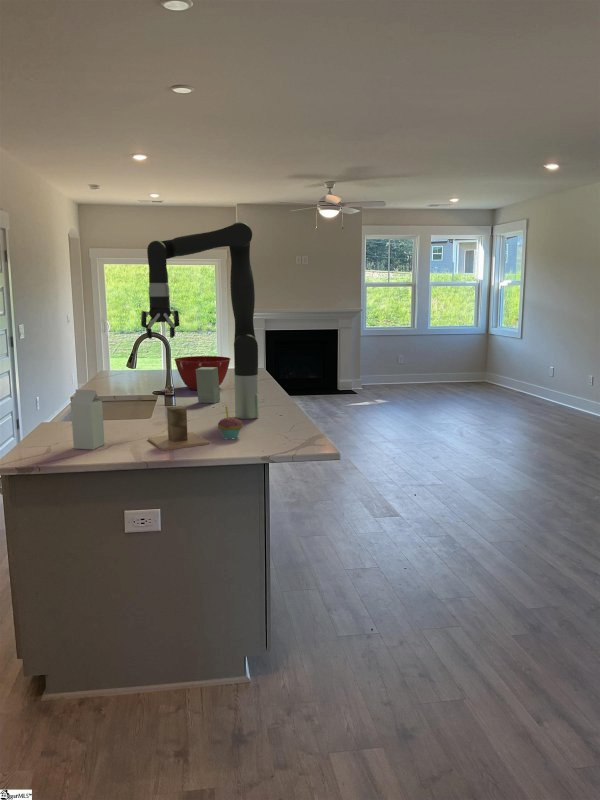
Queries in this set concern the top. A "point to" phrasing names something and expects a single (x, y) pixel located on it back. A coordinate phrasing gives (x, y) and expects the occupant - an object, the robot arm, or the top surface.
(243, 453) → the top surface
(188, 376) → the mixing bowl
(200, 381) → the skincare box
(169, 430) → the walnut block
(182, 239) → the robot arm
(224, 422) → the cupcake
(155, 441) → the wooden square board
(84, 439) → the milk carton
